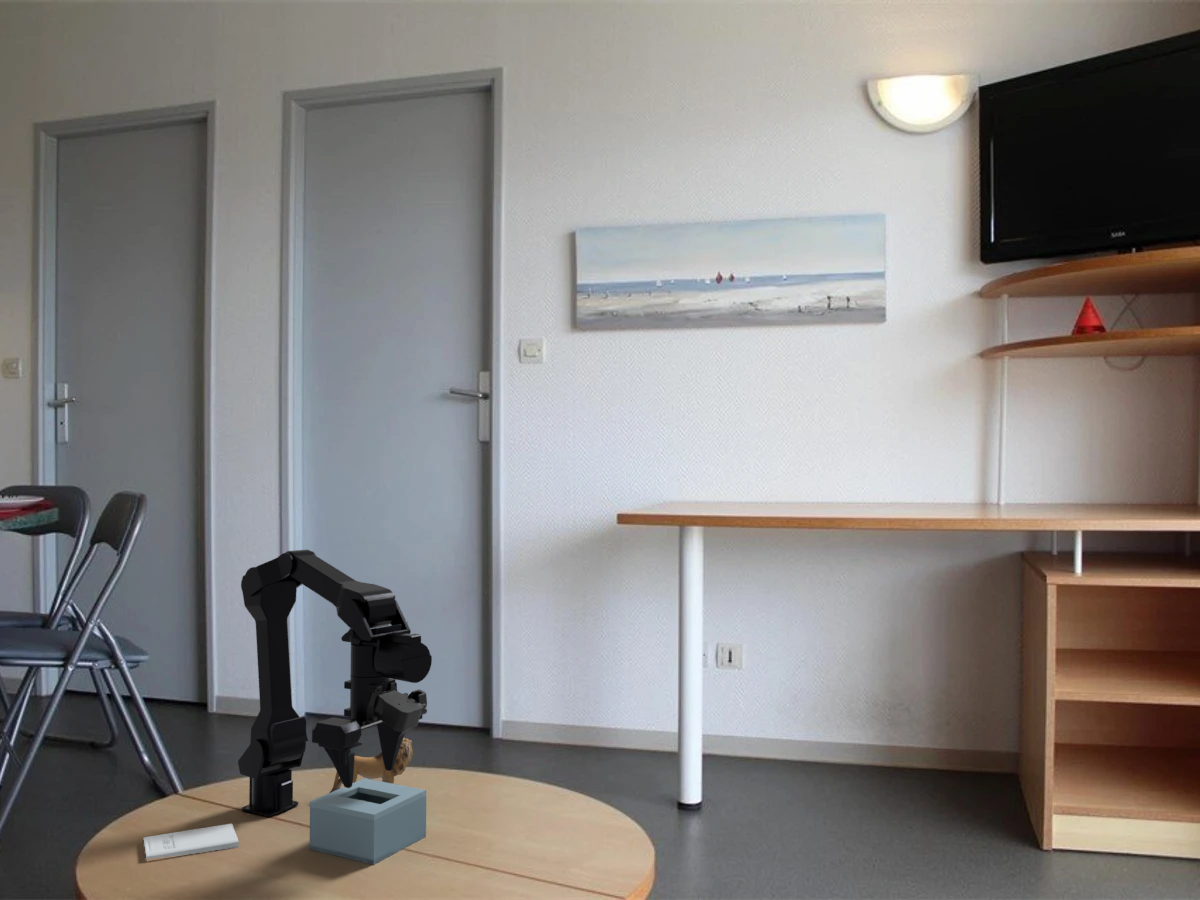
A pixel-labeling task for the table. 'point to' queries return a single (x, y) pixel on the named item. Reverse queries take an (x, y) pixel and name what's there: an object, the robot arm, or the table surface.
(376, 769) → the lion figurine
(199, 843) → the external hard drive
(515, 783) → the table surface
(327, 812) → the tissue box
